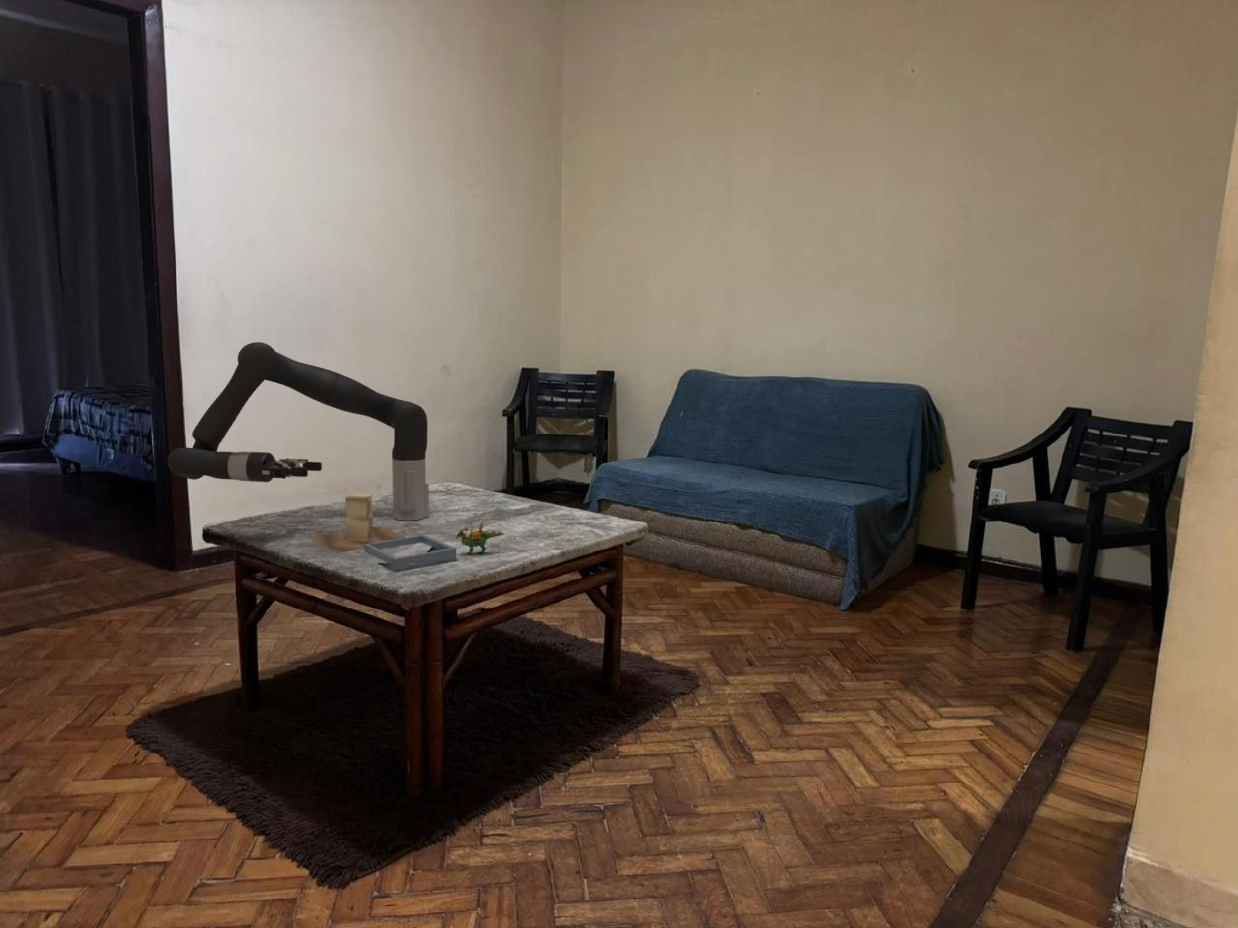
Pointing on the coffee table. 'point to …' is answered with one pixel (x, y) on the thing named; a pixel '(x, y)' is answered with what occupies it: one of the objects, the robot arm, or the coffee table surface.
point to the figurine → (476, 538)
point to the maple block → (359, 517)
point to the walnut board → (340, 544)
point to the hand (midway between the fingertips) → (314, 469)
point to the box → (431, 557)
